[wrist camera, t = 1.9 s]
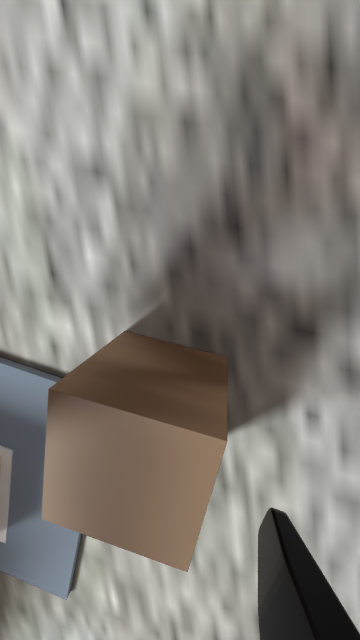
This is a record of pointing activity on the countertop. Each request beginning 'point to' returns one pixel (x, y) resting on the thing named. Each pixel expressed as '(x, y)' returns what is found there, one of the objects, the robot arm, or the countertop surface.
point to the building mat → (29, 485)
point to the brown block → (137, 446)
